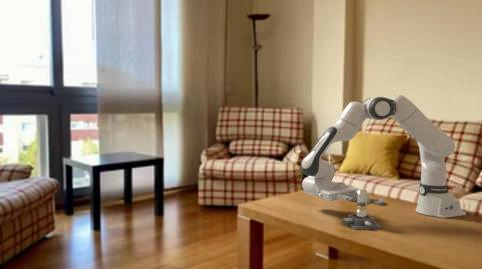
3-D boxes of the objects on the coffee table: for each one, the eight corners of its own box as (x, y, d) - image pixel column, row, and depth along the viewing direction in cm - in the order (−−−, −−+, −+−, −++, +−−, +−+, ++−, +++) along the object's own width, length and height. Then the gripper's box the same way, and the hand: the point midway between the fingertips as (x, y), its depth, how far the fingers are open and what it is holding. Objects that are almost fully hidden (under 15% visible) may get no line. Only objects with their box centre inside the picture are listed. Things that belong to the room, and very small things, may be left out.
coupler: (363, 220, 183) (364, 189, 182) (367, 223, 179) (368, 191, 178) (354, 220, 182) (355, 189, 181) (358, 223, 179) (359, 191, 177)
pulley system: (366, 209, 209) (389, 205, 215) (366, 200, 208) (389, 196, 214) (332, 198, 233) (354, 195, 240) (332, 190, 233) (353, 187, 239)
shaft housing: (366, 219, 188) (367, 211, 188) (382, 229, 175) (382, 221, 174) (338, 220, 186) (339, 212, 186) (352, 230, 172) (352, 222, 172)
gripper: (314, 186, 188) (338, 192, 177) (344, 182, 200) (368, 187, 189) (314, 200, 189) (337, 207, 178) (344, 194, 201) (368, 201, 189)
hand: (353, 197), depth 183 cm, fingers open, 8 cm apart
